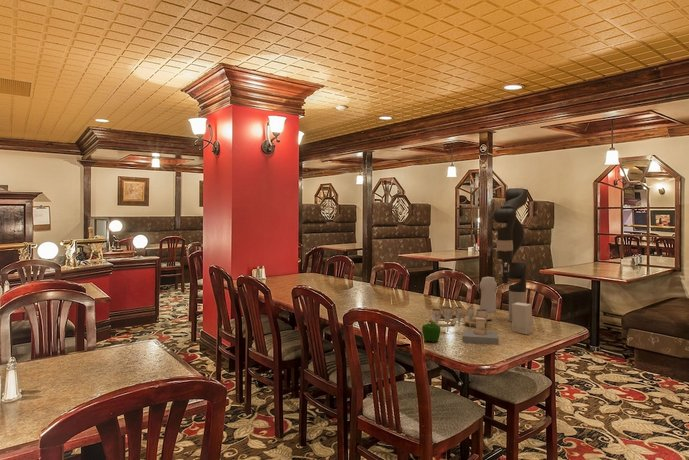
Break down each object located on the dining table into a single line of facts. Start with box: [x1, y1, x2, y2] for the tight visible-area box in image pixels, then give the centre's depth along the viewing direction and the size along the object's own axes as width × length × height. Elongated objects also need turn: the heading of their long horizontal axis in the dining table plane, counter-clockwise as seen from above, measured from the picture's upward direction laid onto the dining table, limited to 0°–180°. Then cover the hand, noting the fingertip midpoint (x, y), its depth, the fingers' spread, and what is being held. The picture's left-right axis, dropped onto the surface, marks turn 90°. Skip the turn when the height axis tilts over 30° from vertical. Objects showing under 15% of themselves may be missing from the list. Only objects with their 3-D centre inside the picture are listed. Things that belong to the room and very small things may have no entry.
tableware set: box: [428, 307, 494, 328], centre depth 258 cm, size 35×29×4 cm
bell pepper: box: [421, 321, 441, 343], centre depth 219 cm, size 8×8×10 cm
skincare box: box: [511, 302, 534, 335], centre depth 232 cm, size 8×6×15 cm
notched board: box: [462, 329, 499, 345], centre depth 220 cm, size 12×16×3 cm
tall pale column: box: [479, 276, 498, 314], centre depth 279 cm, size 11×4×22 cm, turn 91°
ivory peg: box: [475, 318, 486, 335], centre depth 222 cm, size 4×4×10 cm
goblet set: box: [431, 306, 489, 335], centre depth 233 cm, size 28×6×13 cm, turn 82°
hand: (504, 281), depth 223 cm, fingers open, 8 cm apart
